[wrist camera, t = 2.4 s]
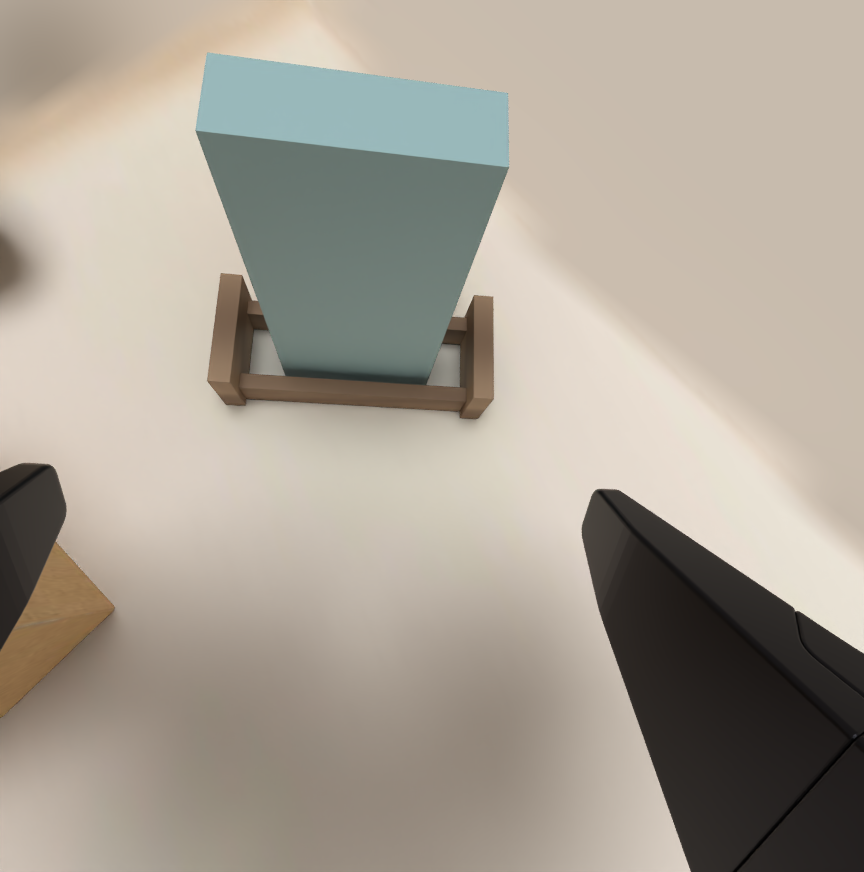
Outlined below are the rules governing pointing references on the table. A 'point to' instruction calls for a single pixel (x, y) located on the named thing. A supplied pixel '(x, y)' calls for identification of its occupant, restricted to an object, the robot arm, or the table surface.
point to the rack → (238, 385)
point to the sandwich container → (49, 626)
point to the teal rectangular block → (352, 206)
